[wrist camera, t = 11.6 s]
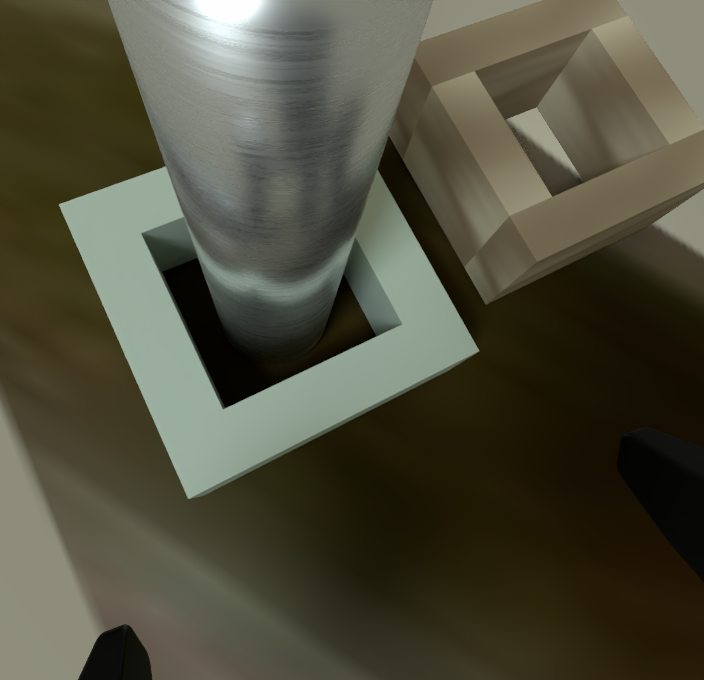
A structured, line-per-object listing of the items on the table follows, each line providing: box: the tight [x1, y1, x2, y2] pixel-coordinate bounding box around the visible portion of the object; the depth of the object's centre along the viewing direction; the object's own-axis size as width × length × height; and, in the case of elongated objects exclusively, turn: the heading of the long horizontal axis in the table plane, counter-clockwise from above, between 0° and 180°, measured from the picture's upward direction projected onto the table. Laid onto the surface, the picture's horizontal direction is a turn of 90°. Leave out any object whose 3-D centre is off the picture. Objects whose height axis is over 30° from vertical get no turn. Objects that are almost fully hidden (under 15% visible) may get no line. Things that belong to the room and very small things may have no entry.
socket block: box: [59, 167, 479, 499], centre depth 17 cm, size 9×9×3 cm
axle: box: [108, 0, 433, 364], centre depth 12 cm, size 4×4×14 cm
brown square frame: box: [389, 0, 704, 304], centre depth 19 cm, size 8×8×4 cm
